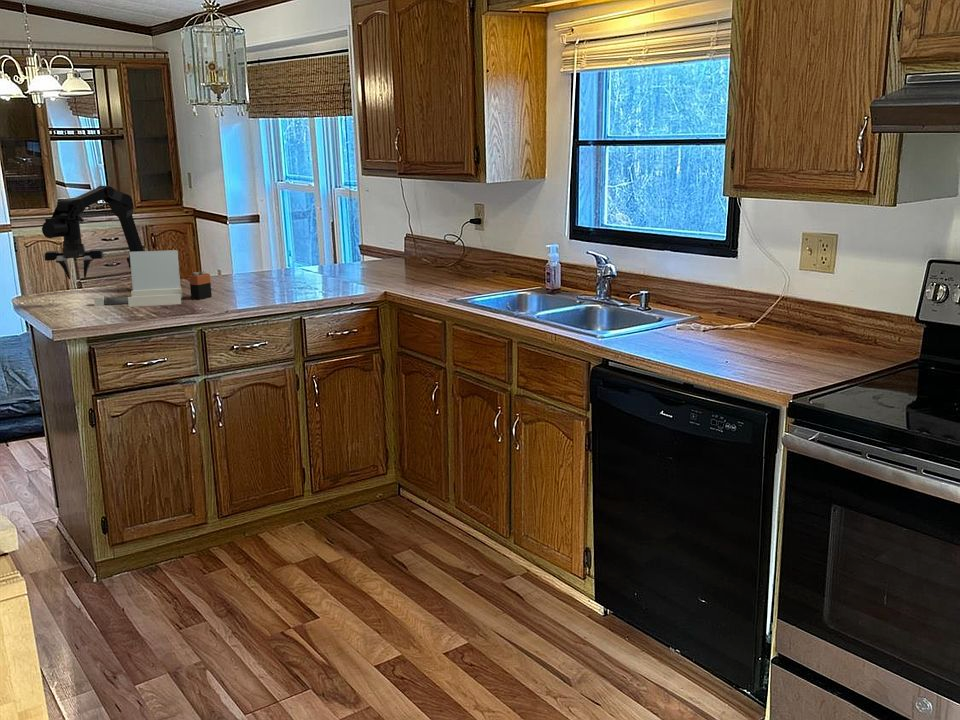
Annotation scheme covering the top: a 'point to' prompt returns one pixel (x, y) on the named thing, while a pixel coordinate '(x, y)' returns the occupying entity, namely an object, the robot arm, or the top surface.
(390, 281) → the top surface
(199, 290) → the battery
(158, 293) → the white slat
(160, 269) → the cover
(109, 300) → the grey bar
